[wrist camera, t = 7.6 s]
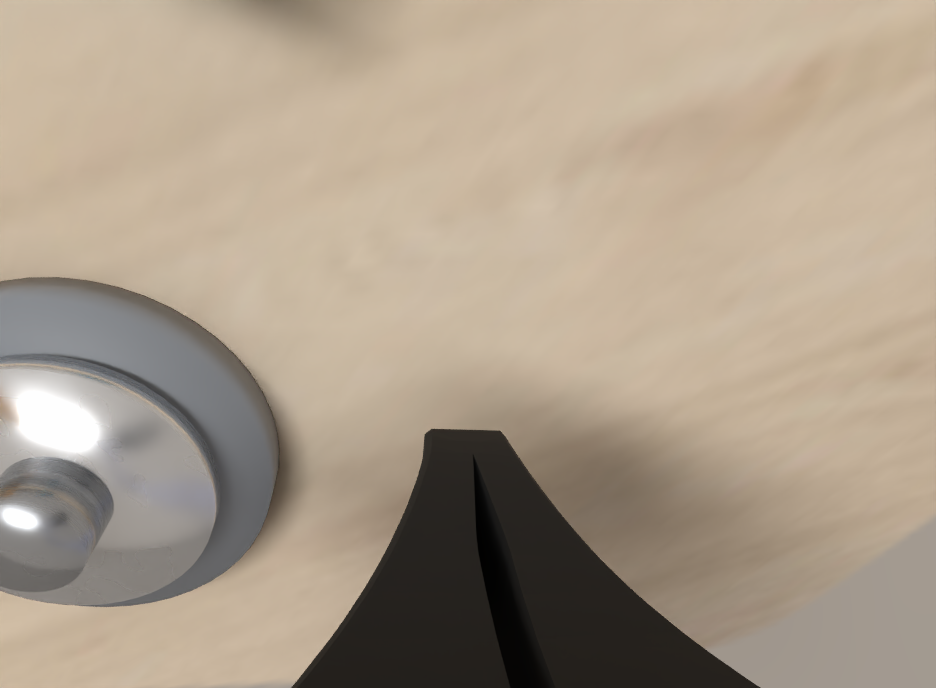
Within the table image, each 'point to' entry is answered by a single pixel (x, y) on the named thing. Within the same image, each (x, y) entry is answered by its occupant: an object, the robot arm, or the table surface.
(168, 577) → the flange
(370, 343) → the table surface
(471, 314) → the table surface
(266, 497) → the post base
